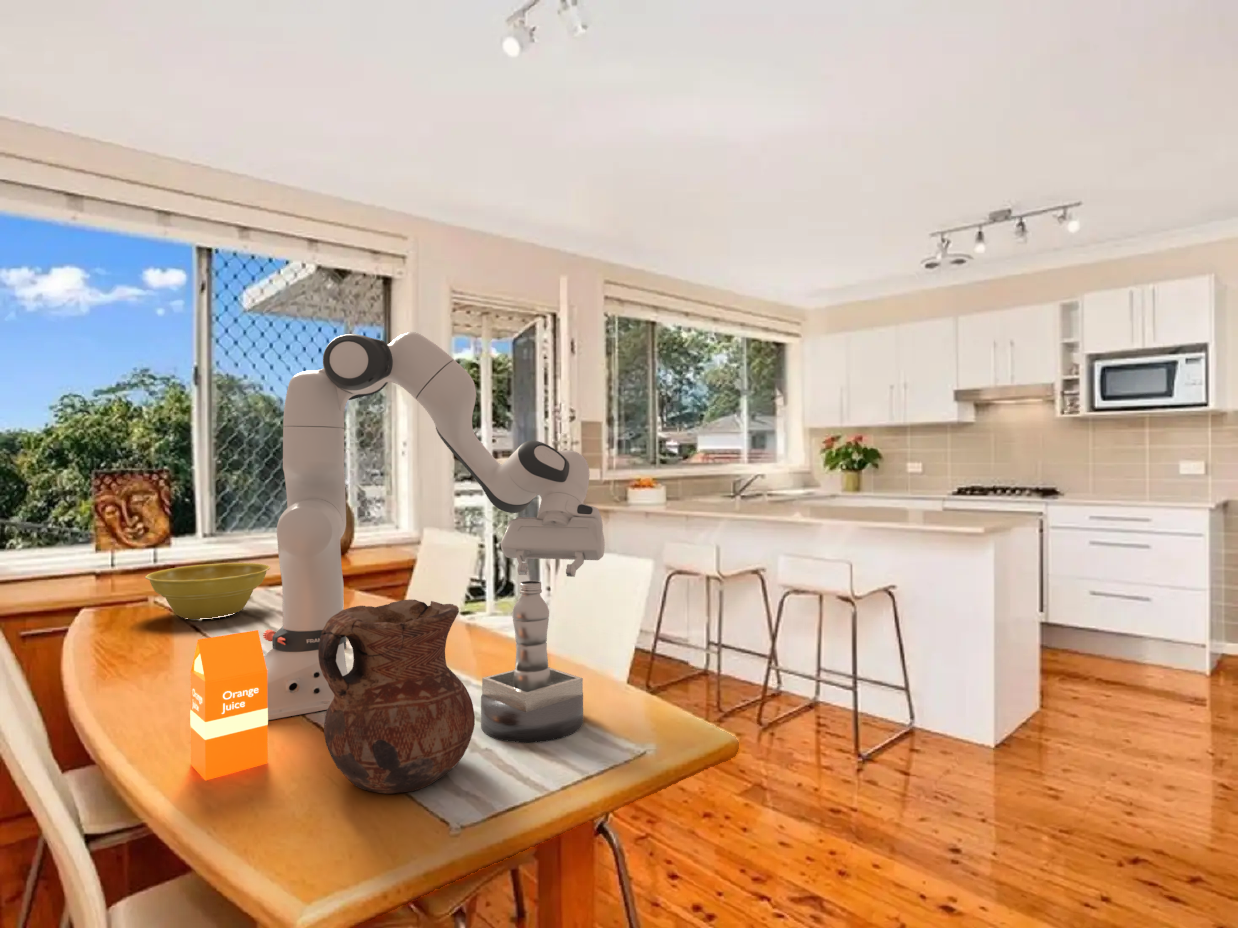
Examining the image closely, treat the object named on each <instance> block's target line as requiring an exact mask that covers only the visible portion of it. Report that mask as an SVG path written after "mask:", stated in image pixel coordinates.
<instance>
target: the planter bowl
mask: <svg viewBox="0 0 1238 928" xmlns="http://www.w3.org/2000/svg"><path fill="white" fill-rule="evenodd" d="M269 570H271V566H270V565H267V564H263V563H254V562H253V563H251V562H249V563H248V562H231V563H230V562H226V563H225V562H224V563H212V564H211V563H209V564H199V565H198V564H197V565H189V566H187V565H186V566H180V567H174V568H168V569H167V568H166V569H162V570H158V571H157V570H156V571H154V572H150V573H148V574H147V575H145V576H144V578H145V579H146V580H148V581H149V584H150V585H151V587H152V589H153V590H154V592H155V593H156V594H158V595H159V596H161V597H163V598H165V600H166V602H167V603H168V606H169V607H170V609H172V611H173V612H174V613H175V614H176V615H177V616H178V617H180V618H182V617H183V618H188V619H200V618H212V617H218V616H224V615H228V614H233V613H236V612H238V613H239V612H240V611H242V610H243V609H244V608H245V606H246V605H247V604H248V602H249V600H250V599H251V596H252V594H253V591H254V590H255V589H257V587H258V586H260V585H262V583H263V581H264V579H265V577H266V574H267V572H268V571H269ZM183 618H182V619H183Z"/></svg>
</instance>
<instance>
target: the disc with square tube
mask: <svg viewBox="0 0 1238 928" xmlns="http://www.w3.org/2000/svg"><path fill="white" fill-rule="evenodd" d="M548 667H549V666H548ZM549 670H550V675H551V684H550V686H547V687H543V688H540V689H536V690H533V691H529V692H525V691H522V690H520V689H517V688H514V683H513V678H514V671H515V669H512V670H508V671H505V672H504V671H503V672H501V673H497V674H496V673H495V674H493V675H489V676H484V677H482V679H481V680H482V684H481V685H482V688H481V690H482V691H481V693H482V694H481V697H480V729H481V730H482V732H483V734H486V735H487V736H489V737H491V738H493V739H496V740H500V741H504V742H509V743H510V742H511V743H518V744H519V743H520V744H521V743H523V744H524V743H525V744H526V743H529V744H530V743H543V742H544V743H545V742H550V741H551V742H552V741H555V740H558V739H559V740H560V739H563V738H566V737H569V736H571V735H573V734H575V733H576V732H578V731H579V730H580V729H581V728H582V726H583V725H584V692H583V691H584V690H583V686H584V685H583V684H584V682H583V678H584V677H579V676H577V675H574V674H571V673H567V672H565V671H562V670H559V669H555V668H553V667H549Z"/></svg>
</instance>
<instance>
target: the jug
mask: <svg viewBox="0 0 1238 928" xmlns="http://www.w3.org/2000/svg"><path fill="white" fill-rule="evenodd" d="M459 609H460V608H459V607H458V605H455V604H453V603H445V604H443V603H440V602H437V601H433V600H431V601H430V605H427V603H425V602H424V601H419V600H417V599H401V600H397V601H393V602H392V601H391V602H390V603H389V604H383V605H379V606H371V605H370V606H369V605H368V606H366V605H356V606H351V607H348V608H345V609H344V610H342V611H340V612H339V613H338V614H335V615H334V616H332V617H331V618H330V619H329V620H328V621H327V623H326V625H325V627H324V629H323V631H322V633H321V634H322V635H321V637H320V641H319V649H318V657H319V664H320V668H321V671H322V674H323V676H324V677H325V679H326V681H327V682H328V685H329V687H330V689H331V690H332V692H333V693H334V699H333V700H332V702H331V704H330V706H329V708H328V709H327V710H326V714H325V718H324V725H323V728H324V729H323V735H324V739H325V744H326V749H327V751H328V753H329V755H330V758H331V759H332V761H333V762H334V764H335V765H336V766H335V767H337V769H338V770H339V771H340V772H341V773H342V774H343V775H344V776H345V778H347V779H348V780H349V781H350V782H351V783H352V785H354V786H355V787H357V788H359V789H361V790H365V791H367V792H372V793H379V794H401V793H402V794H403V793H408V792H414V791H417V790H421V789H423V788H426V787H428V786H430V785H431V784H433V783H435V782H436V781H439V779H441V778H443V777H444V776H445V775H447V774H448V773H449V772H450V771H451V770H453V768H455V767H456V766H457V765H458V763H459V762H460V761H461V759H462V758H463V757H464V755H465V753H466V751H467V749H468V748H469V744H470V742H471V740H472V736H473V733H474V729H475V725H476V724H475V718H476V717H475V709H474V704H473V701H472V698H471V696H470V694H469V691H468V690H467V689H468V688H466V686H465V684H464V683H463V682H462V680H461V679H460V678H459V677H458V676H457V675H456V674H455V673H454V672H453V671H452V670H451V669H450V667H448V666H447V660H446V646H447V640H448V635H449V633H450V630H451V628H452V626H453V624H454V622H455V620H456V618H457V617H458V615H459V612H460V610H459ZM345 636H346V640H348V642H349V644H350V646H351V647H352V653H353V655H352V656H353V657H352V658H353V663H352V668H351V670H349V671H348V674H346V675H344V676H342V674H341V672H340V670H339V668H338V665H337V663H336V654H337V650H338V646H339V643H340V640H341V638H342V637H345Z"/></svg>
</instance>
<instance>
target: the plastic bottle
mask: <svg viewBox="0 0 1238 928" xmlns="http://www.w3.org/2000/svg"><path fill="white" fill-rule="evenodd" d="M519 588H520V589H519V594H521V595H520V597H519V598H518V600H517V601H516V603H515V604H514V606H513V608H512V613H511V614H512V623H513V628H514V629H513V630H514V634H515V635H514V636H515V649H516V651H515V653H516V654H515V668H514V670H515V671H514V678H513V683H514V688H517V689H520V690H522V691H525V692H529V691H533V690H536V689H540V688H543V687H547V686H550V684H551V675H550V670H549V659H548V650H547V648H548V645H547V642H548V628H549V619H550V609H549V607H548V605H547V603H546V602H545V600H544V599H543V597H542V595H541V594H542V593H543V589H542V581H539V580H525V581H524V580H523V581H521V582H520V583H519Z"/></svg>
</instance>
